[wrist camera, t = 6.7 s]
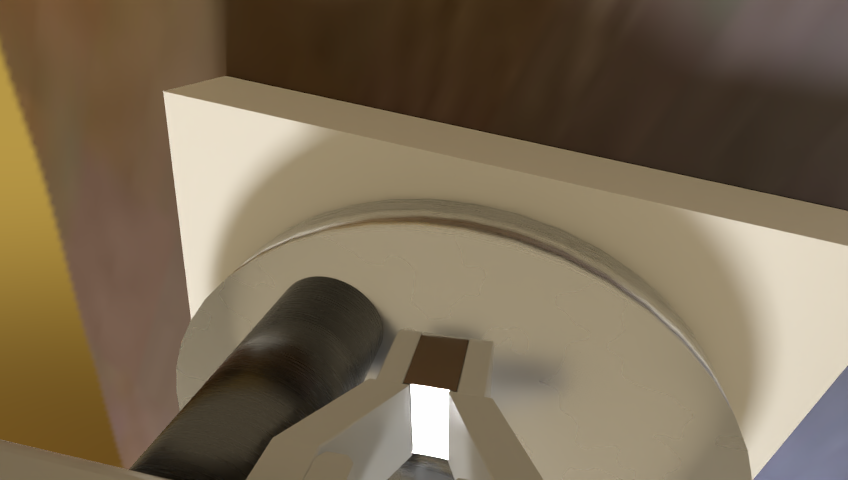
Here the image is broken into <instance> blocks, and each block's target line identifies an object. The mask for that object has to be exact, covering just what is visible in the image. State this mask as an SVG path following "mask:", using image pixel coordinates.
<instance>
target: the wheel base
mask: <svg viewBox="0 0 848 480" xmlns="http://www.w3.org/2000/svg"><path fill="white" fill-rule="evenodd" d="M163 93H164V101H165V109H166V117H167V125H168V134H169V142H170V150H171V158H172V166H173V175H174V183H175V191H176V199H177V207H178V215H179V224H180V232H181V240H182V248H183V256H184V265H185V273H186V281H187V289H188V297H189V306H190V314H191V319H192V318H193V316H194V315H195V314H196V312H197V311H198V309H199V308H200V306H201V305H202V303H203V302H204V300H205V299H206V298H207V297H208V296H209V295H210V294H211V293H212V292H213V291H214V290H215V289H216V288H217V287H218V286H219V285H220V284H221V283H222V282H223V281H224V280H225V279H226V278H227V277H228V276H229V275H231V274H232V273H233V272H234V271H235V270H236V269H237V268H238V267H240V266H241V265H242V264H243V263H244V262H245V261H246V260H248V259H249V258H250V257H251V256H252V255H253V254H254V253H255V252H257V251H258V250H259V249H260V248H261V247H262V246H263V245H265V244H266V243H268V242H269V241H271V240H272V239H274V238H275V237H276V236H278V235H279V234H281V233H282V232H284V231H285V230H287V229H288V228H290V227H292V226H295V225H297V224H299V223H301V222H303V221H305V220H307V219H310V218H312V217H314V216H316V215H319V214H322V213H325V212H329V211H332V210H336V209H339V208H342V207H346V206H349V205H354V204H360V203H367V202H374V201H381V200H387V199H440V200H449V201H458V202H468V203H475V204H480V205H484V206H488V207H493V208H497V209H501V210H505V211H510V212H514V213H518V214H521V215H524V216H526V217H529V218H532V219H535V220H537V221H540V222H543V223H546V224H548V225H551V226H554V227H557V228H559V229H562V230H564V231H566V232H568V233H570V234H572V235H574V236H576V237H578V238H580V239H581V240H583V241H585V242H587V243H589V244H591V245H593V246H595V247H597V248H599V249H601V250H603V251H604V252H605V253H607V254H608V255H610V256H611V257H613V258H614V259H616V260H617V261H619V262H620V263H622V264H623V265H625V266H626V267H628V268H629V269H631V270H632V271H633V272H635V273H636V274H638V275H639V276H640V277H641V278H642V279H643V280H644V281H645V282H647V283H648V284H649V285H650V286H651V287H652V288H653V289H654V290H655V291H657V292H658V293H659V294H660V295H661V296H662V297H663V298H664V299H666V300H667V301H668V303H669V304H670V305H671V306H672V307H673V309H674V310H675V311H676V312H677V313H678V315H679V316H680V317H681V318H682V319H683V321H684V322H685V323H686V324H687V325H688V327H689V328H690V329H691V330H692V332H693V333H694V335H695V337H696V338H697V340H698V342H699V343H700V345H701V347H702V348H703V350H704V352H705V354H706V355H707V357H708V359H709V360H710V362H711V364H712V367H713V369H714V371H715V373H716V375H717V378H718V380H719V382H720V384H721V386H722V389H723V391H724V393H725V395H726V397H727V400H728V402H729V404H730V406H731V409H732V411H733V413H734V415H735V417H736V420H737V423H738V425H739V428H740V431H741V434H742V436H743V439H744V442H745V444H746V447H747V450H748V455H749V462H750V469H751V475H752V480H753V479H754V478H755V476H756V475H757V474H758V473H759V472H760V470H761V469H762V468H763V467H764V466H765V464H766V463H767V462H768V461H769V460H770V458H771V457H772V456H773V455H774V454H775V452H776V451H777V450H778V449H779V447H780V446H781V445H782V444H783V443H784V441H785V440H786V439H787V438H788V437H789V435H790V434H791V433H792V432H793V431H794V429H795V428H796V427H797V426H798V425H799V423H800V422H801V421H802V420H803V418H804V417H805V416H806V415H807V414H808V412H809V411H810V410H811V409H812V408H813V406H814V405H815V404H816V403H817V402H818V400H819V399H820V398H821V397H822V396H823V394H824V393H825V392H826V391H827V389H828V388H829V387H830V386H831V385H832V383H833V382H834V381H835V380H836V379H837V377H838V376H839V375H840V374H841V373H842V371H843V370H844V369H845V368H846V367H847V365H848V211H846V210H841V209H836V208H832V207H827V206H823V205H818V204H813V203H809V202H804V201H800V200H795V199H790V198H786V197H781V196H777V195H772V194H767V193H763V192H758V191H754V190H749V189H744V188H740V187H735V186H731V185H726V184H721V183H717V182H712V181H708V180H703V179H698V178H694V177H689V176H685V175H680V174H675V173H671V172H666V171H662V170H657V169H652V168H648V167H643V166H639V165H634V164H629V163H625V162H620V161H615V160H611V159H606V158H602V157H597V156H592V155H588V154H583V153H579V152H574V151H569V150H565V149H560V148H556V147H551V146H546V145H542V144H537V143H533V142H528V141H523V140H519V139H514V138H510V137H505V136H500V135H496V134H491V133H487V132H482V131H477V130H473V129H468V128H464V127H459V126H454V125H450V124H445V123H441V122H436V121H431V120H427V119H422V118H418V117H413V116H408V115H404V114H399V113H395V112H390V111H385V110H381V109H376V108H371V107H367V106H362V105H358V104H353V103H348V102H344V101H339V100H335V99H330V98H325V97H321V96H316V95H312V94H307V93H302V92H298V91H293V90H289V89H284V88H279V87H275V86H270V85H266V84H261V83H256V82H252V81H247V80H243V79H238V78H233V77H229V76H223V77H219V78H215V79H211V80H207V81H203V82H199V83H195V84H191V85H187V86H183V87H179V88H175V89H171V90H167V91H163ZM181 343H182V342H181Z"/></svg>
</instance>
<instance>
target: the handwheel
mask: <svg viewBox="0 0 848 480" xmlns="http://www.w3.org/2000/svg"><path fill="white" fill-rule="evenodd" d="M401 329H406V330H412V331H419V332H423V333H424V332H427V333H433V334H439V335H446V336H452V337H458V338H464V339H478V340H487V341H493V342H494V358H493V372H492V386H491V397H490V398H493V400H494V401H495V403H496V404H497V406H498V408H499V409H500V411H501V412H502V414H503V416H504V417H505V419H506V420H507V422H508V424H509V425H510V427H511V429H512V430H513V432H514V433H515V435H516V437H517V438H518V440H519V441H520V443H521V445H522V446H523V448H524V449H525V451H526V453H527V454H528V456H529V457H530V459H531V461H532V462H533V464H534V465H535V467H536V469H537V470H538V472H539V473H540V475H541V477H542V478H543V480H752V475H751V469H750V462H749V455H748V450H747V447H746V444H745V442H744V439H743V436H742V434H741V431H740V428H739V425H738V423H737V420H736V417H735V415H734V413H733V411H732V409H731V406H730V404H729V402H728V400H727V397H726V395H725V393H724V391H723V389H722V386H721V384H720V382H719V380H718V378H717V375H716V373H715V371H714V369H713V367H712V364H711V362H710V360H709V359H708V357H707V355H706V354H705V352H704V350H703V348H702V347H701V345H700V343H699V342H698V340H697V338H696V337H695V335H694V333H693V332H692V330H691V329H690V328H689V327H688V325H687V324H686V323H685V322H684V321H683V319H682V318H681V317H680V316H679V315H678V313H677V312H676V311H675V310H674V309H673V307H672V306H671V305H670V304H669V303H668V301H667V300H666V299H664V298H663V297H662V296H661V295H660V294H659V293H658V292H657V291H655V290H654V289H653V288H652V287H651V286H650V285H649V284H648V283H647V282H645V281H644V280H643V279H642V278H641V277H640V276H639V275H638V274H636V273H635V272H633V271H632V270H631V269H629V268H628V267H626V266H625V265H623V264H622V263H620V262H619V261H617V260H616V259H614V258H613V257H611V256H610V255H608V254H607V253H605V252H604V251H603V250H601V249H599V248H597V247H595V246H593V245H591V244H589V243H587V242H585V241H583V240H581V239H580V238H578V237H576V236H574V235H572V234H570V233H568V232H566V231H564V230H562V229H559V228H557V227H554V226H551V225H548V224H546V223H543V222H540V221H537V220H535V219H532V218H529V217H526V216H524V215H521V214H518V213H514V212H510V211H505V210H501V209H497V208H493V207H488V206H484V205H480V204H475V203H468V202H458V201H449V200H440V199H387V200H381V201H374V202H367V203H360V204H354V205H349V206H346V207H342V208H339V209H336V210H332V211H329V212H325V213H322V214H319V215H316V216H314V217H312V218H310V219H307V220H305V221H303V222H301V223H299V224H297V225H295V226H292V227H290V228H288V229H287V230H285V231H284V232H282V233H281V234H279V235H278V236H276V237H275V238H274V239H272V240H271V241H269V242H268V243H266V244H265V245H263V246H262V247H261V248H260V249H259V250H258V251H257V252H255V253H254V254H253V255H252V256H251V257H250V258H249V259H248V260H246V261H245V262H244V263H243V264H242V265H241V266H240V267H238V268H237V269H236V270H235V271H234V272H233V273H232V274H231V275H229V276H228V277H227V278H226V279H225V280H224V281H223V282H222V283H221V284H220V285H219V286H218V287H217V288H216V289H215V290H214V291H213V292H212V293H211V294H210V295H209V296H208V297H207V298H206V299H205V300H204V302H203V303H202V305H201V306H200V308H199V309H198V311H197V312H196V314H195V315H194V316H193V318H192V319H191V321H190V323H189V326H188V328H187V331H186V333H185V336H184V338H183V340H182V343H181V347H180V352H179V357H178V363H177V381H176V391H177V397H178V404H179V410H180V412H179V413H178V414H177V415H176V417H175V418H174V419H173V420H172V421H171V422H170V423H169V425H168V426H167V427H166V428H165V429H164V430H163V431H162V433H161V434H160V435H159V436H158V437H157V438H156V439H155V441H154V442H153V443H152V444H151V445H150V446H149V447H148V448H147V450H146V451H145V452H144V453H143V454H142V455H141V456H140V458H139V459H138V460H137V461H136V462H135V463H134V464H133V466H132V467H131V468H130V469H129V470H132V471H136V472H141V473H145V474H149V475H153V476H158V477H162V478H166V479H171V480H246V479H247V477H248V476H249V474H250V472H251V471H252V469H253V468H254V466H255V465H256V463H257V461H258V460H259V458H260V457H261V455H262V454H263V452H264V450H265V449H266V447H267V446H268V444H269V443H270V441H271V440H272V438H273V437H275V436H276V435H278V434H280V433H281V432H283V431H285V430H286V429H288V428H289V427H291V426H293V425H294V424H296V423H298V422H299V421H301V420H302V419H304V418H306V417H307V416H309V415H311V414H312V413H314V412H315V411H317V410H319V409H320V408H322V407H324V406H325V405H327V404H329V403H330V402H332V401H333V400H335V399H337V398H338V397H340V396H342V395H343V394H345V393H346V392H348V391H350V390H351V389H353V388H355V387H356V386H358V385H359V384H361V383H363V382H364V381H366V380H368V379H369V378H371V379H376V378H377V376H378V374H379V372H380V370H381V367H382V365H383V363H384V361H385V359H386V357H387V354H388V352H389V350H390V348H391V346H392V343H393V341H394V339H395V337H396V335H397V333H398V332H399V331H400V330H401ZM387 480H455V479H454V477H453V474H452V471H451V469H450V466H449V463H448V459H444V458H439V457H435V456H430V455H425V454H418V453H412V456H411V457H410V458H409V459H408V460H407V461H406V462H405V463H404V464H403V465H402V466H401V467H400V468H399V469H398V470H396V471H395V472H394V473H393V474H392V475H391V476H390V477H389V478H388V479H387Z"/></svg>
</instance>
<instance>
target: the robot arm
mask: <svg viewBox="0 0 848 480" xmlns="http://www.w3.org/2000/svg"><path fill="white" fill-rule="evenodd" d="M493 358H494V342H493V341H487V340H478V339H464V338H458V337H452V336H446V335H439V334H433V333H427V332H424V333H423V332H419V331H412V330H406V329H401V330H400V331H399V332H398V333H397V335H396V337H395V339H394V341H393V343H392V346H391V348H390V350H389V352H388V354H387V357H386V359H385V361H384V363H383V365H382V367H381V370H380V372H379V374H378V376H377V378H376V379H371V378H369V379H368V380H366V381H364V382H363V383H361V384H359V385H358V386H356V387H355V388H353V389H351V390H350V391H348V392H346V393H345V394H343V395H342V396H340V397H338V398H337V399H335V400H333V401H332V402H330V403H329V404H327V405H325V406H324V407H322V408H320V409H319V410H317V411H315V412H314V413H312V414H311V415H309V416H307V417H306V418H304V419H302V420H301V421H299V422H298V423H296V424H294V425H293V426H291V427H289V428H288V429H286V430H285V431H283V432H281V433H280V434H278V435H276V436H275V437H273V438H272V440H271V441H270V443H269V444H268V446H267V447H266V449H265V450H264V452H263V454H262V455H261V457H260V458H259V460H258V461H257V463H256V465H255V466H254V468H253V469H252V471H251V472H250V474H249V476H248V477H247V479H246V480H387V479H388V478H389V477H390V476H391V475H392V474H393V473H394V472H395V471H396V470H398V469H399V468H400V467H401V466H402V465H403V464H404V463H405V462H406V461H407V460H408V459H409V458H410V457H411V456H412V453H418V454H425V455H430V456H435V457H439V458H444V459H448V463H449V466H450V469H451V471H452V474H453V477H454V479H455V480H543V478H542V477H541V475H540V473H539V472H538V470H537V469H536V467H535V465H534V464H533V462H532V461H531V459H530V457H529V456H528V454H527V453H526V451H525V449H524V448H523V446H522V445H521V443H520V441H519V440H518V438H517V437H516V435H515V433H514V432H513V430H512V429H511V427H510V425H509V424H508V422H507V420H506V419H505V417H504V416H503V414H502V412H501V411H500V409H499V408H498V406H497V404H496V403H495V401H494V400H493V398H490V397H491V386H492V372H493ZM0 480H171V479H166V478H162V477H158V476H153V475H149V474H145V473H141V472H136V471H132V470H128V469H123V468H118V467H115V466H110V465H106V464H101V463H98V462H93V461H89V460H85V459H80V458H76V457H72V456H68V455H63V454H59V453H55V452H51V451H46V450H42V449H38V448H33V447H29V446H25V445H20V444H16V443H12V442H7V441H3V440H0Z"/></svg>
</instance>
